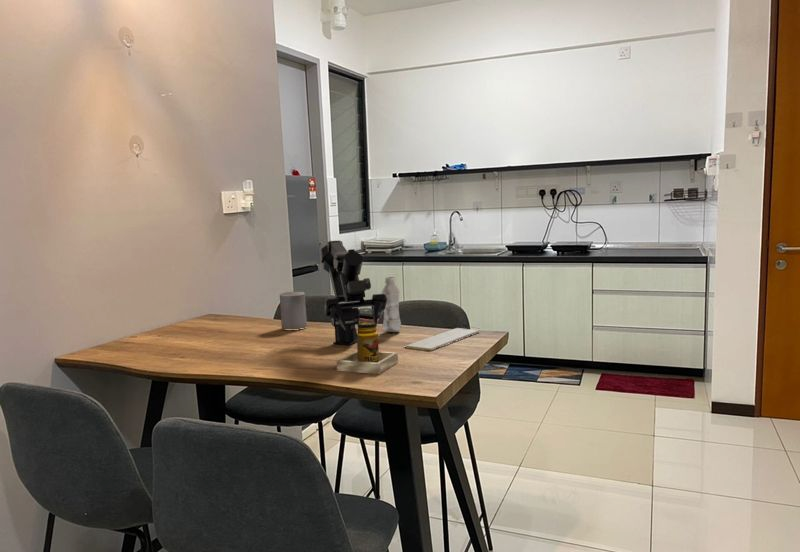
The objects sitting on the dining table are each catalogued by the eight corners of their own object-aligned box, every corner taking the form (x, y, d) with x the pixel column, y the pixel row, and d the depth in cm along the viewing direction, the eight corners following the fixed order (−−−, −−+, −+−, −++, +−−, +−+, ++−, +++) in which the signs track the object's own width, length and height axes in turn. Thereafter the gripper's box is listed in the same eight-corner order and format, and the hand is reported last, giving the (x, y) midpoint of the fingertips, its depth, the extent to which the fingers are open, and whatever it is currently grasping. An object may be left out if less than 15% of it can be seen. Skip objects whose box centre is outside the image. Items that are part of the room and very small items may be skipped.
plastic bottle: (404, 331, 216) (402, 276, 214) (394, 334, 210) (392, 279, 208) (390, 329, 219) (387, 276, 217) (379, 333, 214) (377, 278, 211)
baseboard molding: (399, 349, 191) (430, 353, 184) (399, 340, 191) (430, 344, 183) (450, 331, 216) (479, 334, 208) (450, 323, 215) (479, 326, 208)
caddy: (337, 370, 165) (336, 360, 165) (358, 359, 177) (357, 350, 177) (379, 374, 160) (379, 363, 160) (398, 362, 172) (397, 352, 172)
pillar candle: (286, 326, 235) (283, 288, 233) (310, 325, 234) (307, 288, 232) (278, 331, 226) (275, 292, 224) (302, 331, 224) (300, 291, 222)
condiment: (376, 368, 164) (374, 325, 163) (347, 367, 166) (345, 325, 165) (383, 361, 171) (381, 320, 170) (355, 360, 173) (353, 320, 172)
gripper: (323, 272, 177) (331, 315, 168) (383, 267, 181) (395, 308, 172) (321, 294, 185) (329, 336, 176) (379, 289, 190) (389, 329, 181)
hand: (361, 327), depth 176 cm, fingers open, 9 cm apart
